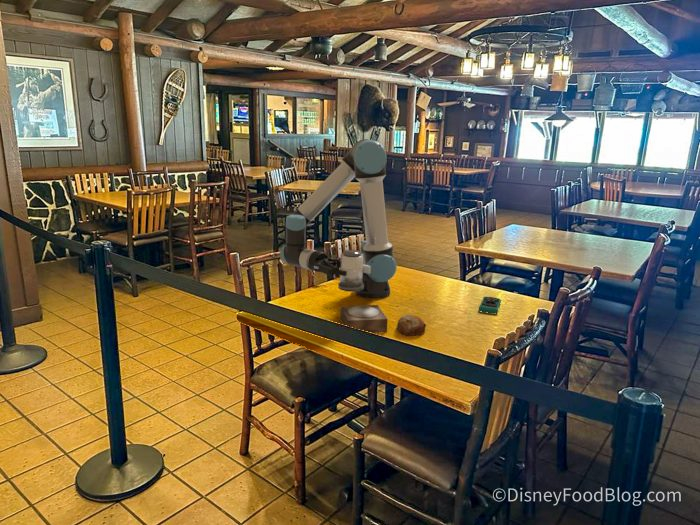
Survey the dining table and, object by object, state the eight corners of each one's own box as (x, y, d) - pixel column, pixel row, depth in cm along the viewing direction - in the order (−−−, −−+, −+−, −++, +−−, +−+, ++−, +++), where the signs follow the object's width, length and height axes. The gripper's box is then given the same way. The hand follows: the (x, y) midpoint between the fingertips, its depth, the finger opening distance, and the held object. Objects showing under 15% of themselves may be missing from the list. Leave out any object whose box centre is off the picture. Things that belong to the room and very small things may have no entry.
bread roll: (398, 335, 182) (390, 316, 180) (424, 323, 182) (416, 305, 179) (403, 346, 172) (394, 327, 170) (430, 334, 172) (422, 315, 170)
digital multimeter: (500, 304, 208) (501, 297, 208) (497, 316, 195) (497, 309, 194) (482, 301, 211) (483, 295, 210) (477, 313, 198) (478, 306, 197)
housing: (361, 283, 184) (362, 248, 181) (366, 291, 175) (367, 255, 172) (336, 283, 182) (337, 249, 179) (340, 291, 174) (341, 255, 170)
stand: (377, 317, 188) (377, 304, 187) (386, 332, 175) (387, 317, 173) (340, 319, 185) (340, 305, 184) (347, 334, 172) (348, 319, 171)
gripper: (332, 264, 197) (379, 276, 183) (294, 275, 181) (343, 289, 167) (332, 246, 195) (380, 256, 181) (294, 255, 179) (343, 268, 165)
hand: (362, 272), depth 174 cm, fingers closed on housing, 8 cm apart
